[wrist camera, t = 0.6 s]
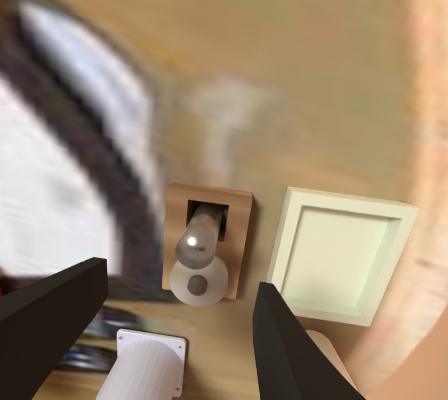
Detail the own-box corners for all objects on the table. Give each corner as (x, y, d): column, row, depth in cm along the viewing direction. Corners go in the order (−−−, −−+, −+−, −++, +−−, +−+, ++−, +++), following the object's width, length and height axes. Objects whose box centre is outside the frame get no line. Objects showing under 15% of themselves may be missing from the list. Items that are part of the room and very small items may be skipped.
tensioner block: (235, 285, 21) (234, 318, 18) (168, 276, 22) (154, 305, 18) (251, 192, 18) (254, 206, 15) (174, 181, 19) (157, 193, 15)
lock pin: (220, 226, 20) (212, 272, 13) (195, 222, 20) (174, 266, 13) (223, 202, 19) (216, 238, 12) (198, 199, 19) (176, 232, 12)
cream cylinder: (283, 320, 22) (302, 397, 16) (346, 331, 22) (392, 414, 16) (269, 365, 24) (280, 451, 18) (326, 375, 24) (360, 466, 18)
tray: (358, 311, 21) (369, 326, 20) (262, 297, 22) (264, 311, 20) (402, 201, 18) (420, 208, 16) (287, 186, 18) (292, 191, 16)
